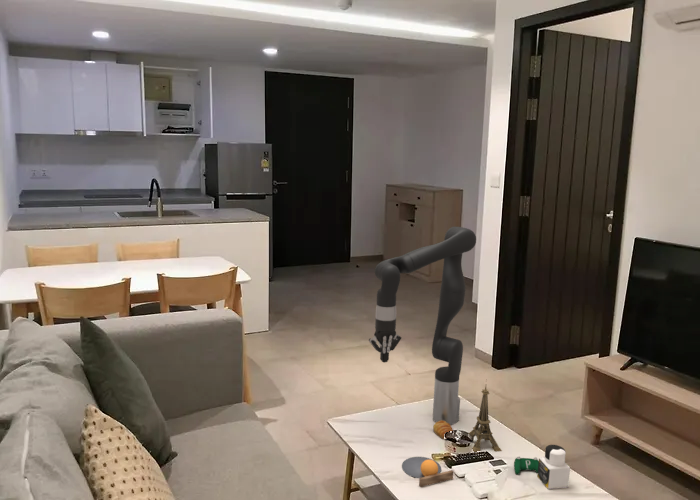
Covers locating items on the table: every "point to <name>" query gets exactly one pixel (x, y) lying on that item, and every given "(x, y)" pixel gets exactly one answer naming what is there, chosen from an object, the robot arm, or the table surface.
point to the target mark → (416, 466)
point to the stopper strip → (435, 478)
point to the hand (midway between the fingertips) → (384, 361)
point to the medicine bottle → (553, 468)
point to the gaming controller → (525, 464)
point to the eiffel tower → (483, 421)
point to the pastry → (441, 428)
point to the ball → (429, 468)
